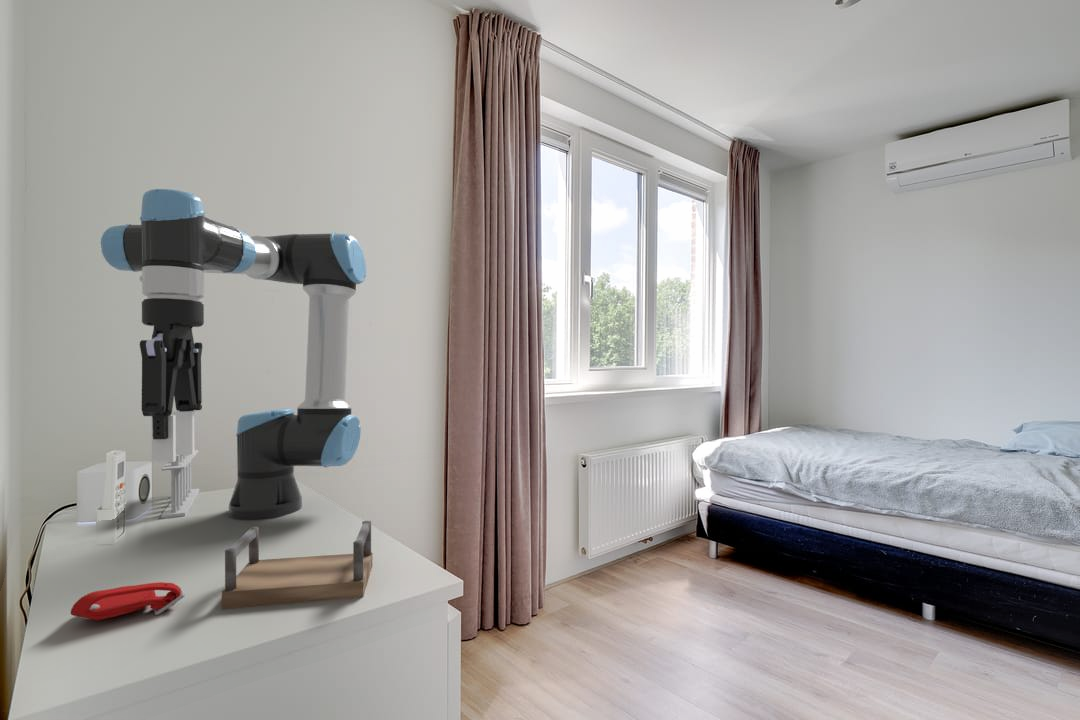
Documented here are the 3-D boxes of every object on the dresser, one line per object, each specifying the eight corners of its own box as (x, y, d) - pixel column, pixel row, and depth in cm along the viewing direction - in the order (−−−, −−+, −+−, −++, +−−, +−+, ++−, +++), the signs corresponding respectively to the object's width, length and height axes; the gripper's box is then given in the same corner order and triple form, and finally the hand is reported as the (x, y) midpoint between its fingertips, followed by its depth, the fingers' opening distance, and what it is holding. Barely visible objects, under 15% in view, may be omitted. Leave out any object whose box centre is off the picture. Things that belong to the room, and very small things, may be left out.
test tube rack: (185, 516, 121) (184, 457, 121) (161, 518, 119) (160, 458, 119) (199, 491, 144) (199, 441, 143) (179, 493, 142) (179, 442, 142)
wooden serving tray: (250, 575, 88) (250, 526, 88) (372, 567, 91) (372, 519, 91) (222, 609, 76) (221, 553, 76) (363, 598, 80) (363, 544, 80)
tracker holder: (128, 593, 81) (53, 625, 71) (129, 564, 81) (54, 591, 71) (193, 606, 78) (123, 640, 68) (194, 575, 78) (124, 605, 68)
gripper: (175, 304, 88) (176, 448, 88) (106, 291, 70) (107, 471, 70) (225, 305, 89) (226, 446, 89) (171, 292, 71) (171, 469, 71)
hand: (174, 457), depth 79 cm, fingers open, 5 cm apart
